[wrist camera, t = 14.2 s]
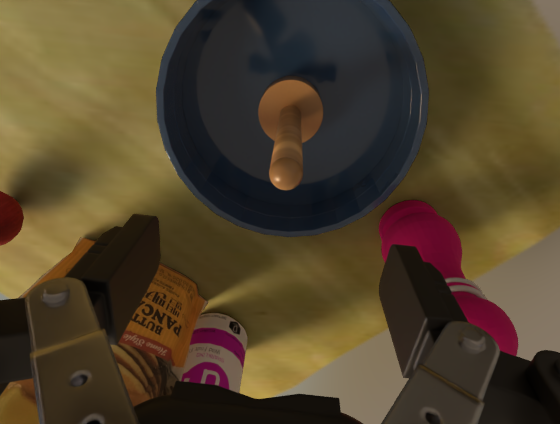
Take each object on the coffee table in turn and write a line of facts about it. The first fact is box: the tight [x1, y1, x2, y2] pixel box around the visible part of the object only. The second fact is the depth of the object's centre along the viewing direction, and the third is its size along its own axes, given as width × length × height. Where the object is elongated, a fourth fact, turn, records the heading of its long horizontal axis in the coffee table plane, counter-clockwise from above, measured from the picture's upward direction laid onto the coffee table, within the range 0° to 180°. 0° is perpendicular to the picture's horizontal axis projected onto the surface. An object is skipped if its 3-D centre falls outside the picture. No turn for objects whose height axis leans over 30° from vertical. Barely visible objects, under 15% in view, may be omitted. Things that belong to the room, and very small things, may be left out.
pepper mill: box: [379, 200, 518, 356], centre depth 31 cm, size 7×7×20 cm
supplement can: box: [181, 313, 248, 393], centre depth 42 cm, size 8×8×15 cm
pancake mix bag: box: [0, 237, 208, 424], centre depth 32 cm, size 7×19×28 cm, turn 57°
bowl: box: [156, 0, 429, 237], centre depth 32 cm, size 21×21×6 cm
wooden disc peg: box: [258, 76, 323, 190], centre depth 27 cm, size 6×6×17 cm
